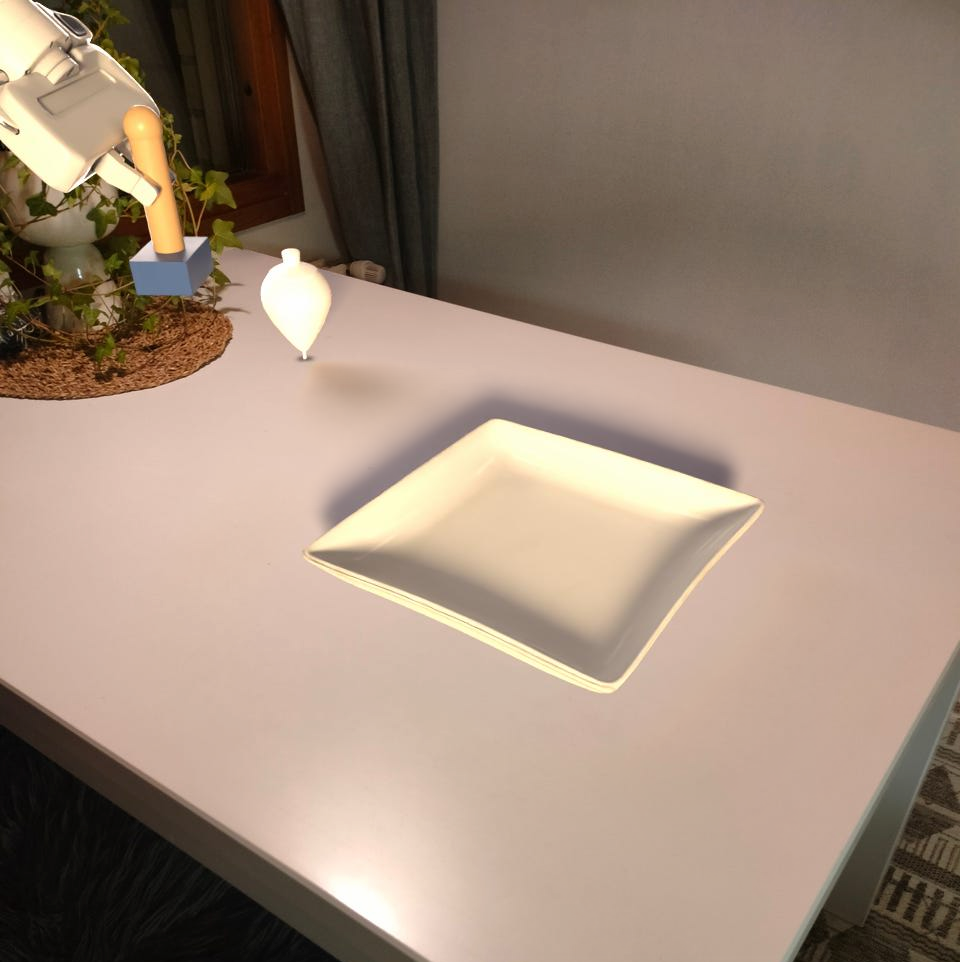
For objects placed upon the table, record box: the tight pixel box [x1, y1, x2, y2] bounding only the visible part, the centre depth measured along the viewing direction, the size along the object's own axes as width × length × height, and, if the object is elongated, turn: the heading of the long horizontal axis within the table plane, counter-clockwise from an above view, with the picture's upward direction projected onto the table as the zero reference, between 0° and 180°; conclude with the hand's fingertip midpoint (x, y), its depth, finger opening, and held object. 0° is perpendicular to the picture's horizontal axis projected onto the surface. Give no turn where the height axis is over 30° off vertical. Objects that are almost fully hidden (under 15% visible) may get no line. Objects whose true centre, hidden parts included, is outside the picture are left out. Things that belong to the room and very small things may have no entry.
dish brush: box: [123, 105, 215, 297], centre depth 82 cm, size 5×7×15 cm
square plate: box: [301, 417, 766, 694], centre depth 73 cm, size 27×27×4 cm
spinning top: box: [260, 247, 333, 360], centre depth 101 cm, size 8×8×12 cm
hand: (163, 192), depth 81 cm, fingers closed on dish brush, 3 cm apart
